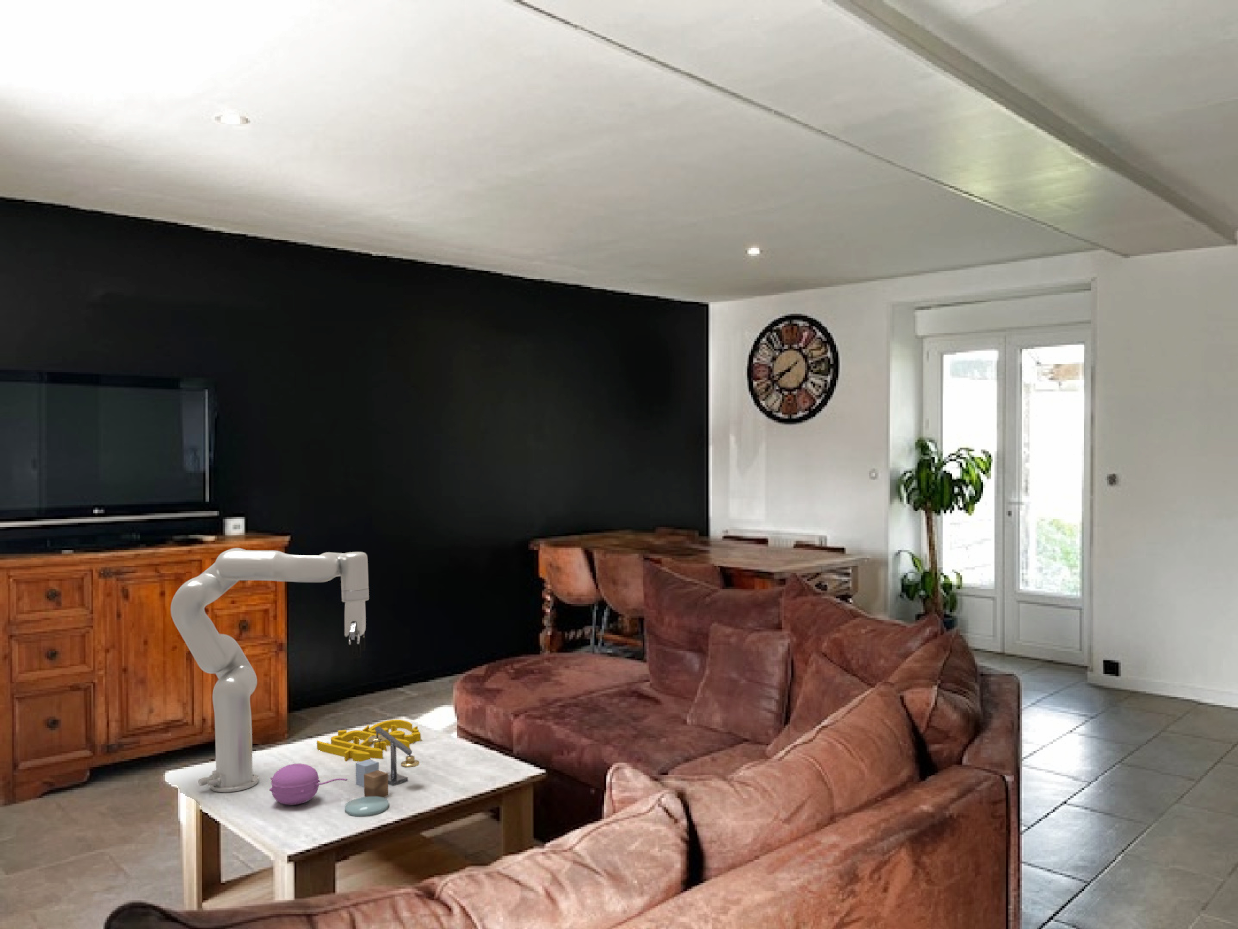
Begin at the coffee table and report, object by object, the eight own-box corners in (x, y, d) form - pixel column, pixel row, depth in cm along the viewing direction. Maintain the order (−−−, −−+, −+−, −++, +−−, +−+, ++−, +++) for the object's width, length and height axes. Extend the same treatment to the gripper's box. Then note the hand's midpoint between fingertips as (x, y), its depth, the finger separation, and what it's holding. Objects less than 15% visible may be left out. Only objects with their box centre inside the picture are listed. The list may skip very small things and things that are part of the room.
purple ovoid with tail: (287, 793, 255) (286, 757, 255) (349, 798, 251) (349, 760, 251) (261, 809, 243) (261, 771, 243) (326, 814, 239) (326, 775, 239)
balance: (408, 791, 255) (407, 740, 255) (365, 776, 268) (364, 727, 268) (423, 786, 259) (422, 736, 259) (380, 771, 272) (379, 723, 272)
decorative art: (387, 716, 323) (446, 730, 304) (387, 724, 323) (447, 739, 304) (301, 740, 296) (361, 757, 277) (302, 749, 296) (361, 767, 277)
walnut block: (374, 800, 249) (373, 778, 249) (364, 796, 252) (363, 774, 252) (388, 795, 252) (387, 773, 252) (378, 792, 255) (378, 770, 255)
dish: (360, 820, 235) (360, 815, 235) (336, 809, 242) (336, 805, 242) (397, 807, 243) (397, 802, 243) (372, 797, 251) (372, 793, 251)
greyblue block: (365, 788, 258) (364, 766, 258) (355, 784, 261) (355, 763, 261) (379, 783, 262) (378, 762, 262) (369, 780, 265) (369, 759, 265)
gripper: (346, 592, 276) (348, 649, 276) (337, 600, 259) (339, 662, 259) (372, 590, 277) (374, 648, 277) (364, 599, 260) (367, 660, 260)
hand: (357, 654), depth 268 cm, fingers open, 9 cm apart
